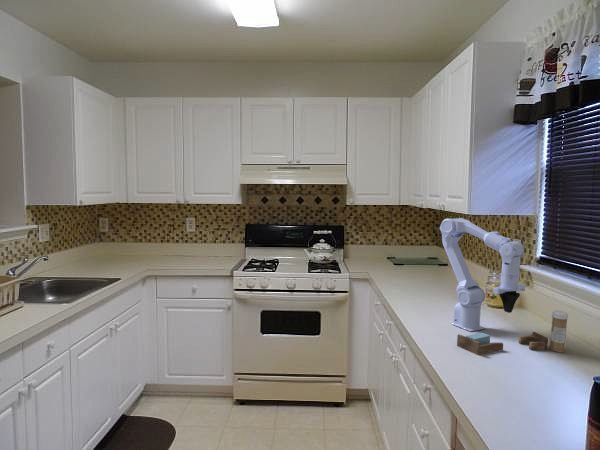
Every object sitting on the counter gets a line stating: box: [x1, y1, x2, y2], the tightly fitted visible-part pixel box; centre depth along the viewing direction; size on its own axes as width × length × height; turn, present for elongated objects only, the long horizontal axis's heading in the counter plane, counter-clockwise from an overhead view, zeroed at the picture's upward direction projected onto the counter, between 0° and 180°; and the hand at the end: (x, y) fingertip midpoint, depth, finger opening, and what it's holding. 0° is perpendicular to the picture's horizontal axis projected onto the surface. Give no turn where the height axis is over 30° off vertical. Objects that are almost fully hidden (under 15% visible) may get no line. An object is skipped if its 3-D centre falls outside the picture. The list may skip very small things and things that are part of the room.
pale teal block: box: [465, 332, 491, 345], centre depth 143 cm, size 4×8×4 cm, turn 119°
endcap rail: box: [456, 332, 504, 356], centre depth 143 cm, size 11×11×4 cm
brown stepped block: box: [518, 331, 549, 351], centre depth 146 cm, size 6×6×4 cm
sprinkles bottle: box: [549, 310, 569, 353], centre depth 142 cm, size 5×5×14 cm
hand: (508, 311), depth 151 cm, fingers closed
